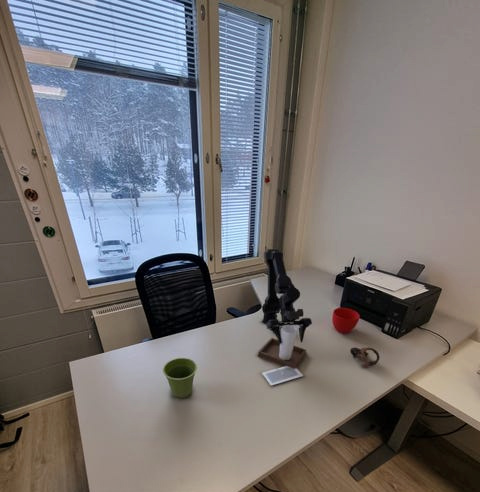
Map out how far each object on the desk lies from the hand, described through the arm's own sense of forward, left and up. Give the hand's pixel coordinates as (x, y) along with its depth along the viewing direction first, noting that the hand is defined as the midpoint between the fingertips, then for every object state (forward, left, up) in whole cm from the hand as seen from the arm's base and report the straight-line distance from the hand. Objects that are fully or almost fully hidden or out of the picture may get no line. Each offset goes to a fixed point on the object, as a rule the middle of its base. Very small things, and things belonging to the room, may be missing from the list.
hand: (291, 342), depth 113 cm
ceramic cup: (+13, +42, -10) cm, 45 cm away
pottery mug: (+28, +18, -10) cm, 35 cm away
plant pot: (-26, -40, -10) cm, 48 cm away
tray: (-4, +2, -10) cm, 11 cm away
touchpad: (+2, -10, -10) cm, 15 cm away
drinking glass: (-2, +1, -9) cm, 9 cm away
